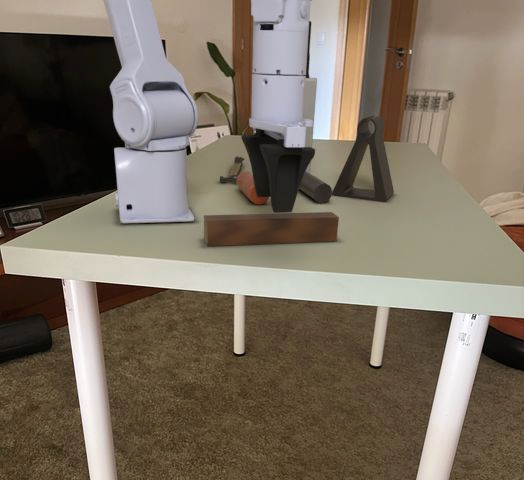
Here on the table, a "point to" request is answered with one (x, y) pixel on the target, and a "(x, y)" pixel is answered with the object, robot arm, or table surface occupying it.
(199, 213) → the table surface
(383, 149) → the dark grey triangle stand
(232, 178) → the tomahawk
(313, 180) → the rods
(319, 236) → the bar
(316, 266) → the table surface
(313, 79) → the vintage mobile phone
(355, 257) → the table surface
